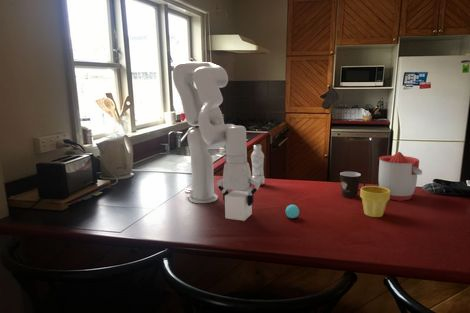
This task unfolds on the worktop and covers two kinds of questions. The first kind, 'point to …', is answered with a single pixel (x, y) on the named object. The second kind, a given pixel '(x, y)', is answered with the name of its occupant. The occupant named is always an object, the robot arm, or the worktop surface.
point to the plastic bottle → (257, 164)
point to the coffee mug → (350, 184)
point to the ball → (292, 211)
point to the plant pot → (374, 200)
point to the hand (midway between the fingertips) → (238, 203)
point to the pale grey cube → (237, 205)
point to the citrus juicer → (399, 175)
